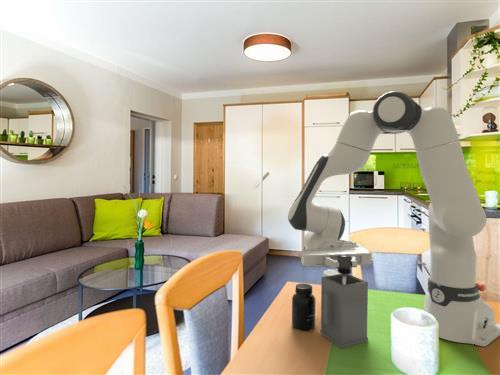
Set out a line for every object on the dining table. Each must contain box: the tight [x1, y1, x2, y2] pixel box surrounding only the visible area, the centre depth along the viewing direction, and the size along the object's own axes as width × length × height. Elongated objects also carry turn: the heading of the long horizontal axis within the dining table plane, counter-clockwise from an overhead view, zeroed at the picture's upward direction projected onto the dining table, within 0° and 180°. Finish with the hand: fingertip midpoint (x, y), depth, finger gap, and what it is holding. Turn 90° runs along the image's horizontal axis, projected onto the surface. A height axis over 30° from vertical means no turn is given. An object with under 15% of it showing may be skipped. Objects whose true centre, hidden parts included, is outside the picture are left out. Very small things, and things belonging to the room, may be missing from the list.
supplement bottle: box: [291, 283, 316, 332], centre depth 96 cm, size 7×7×12 cm
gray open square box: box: [319, 274, 369, 350], centre depth 89 cm, size 11×9×16 cm
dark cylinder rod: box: [336, 254, 352, 285], centre depth 89 cm, size 6×6×17 cm
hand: (345, 264), depth 88 cm, fingers closed on dark cylinder rod, 3 cm apart
